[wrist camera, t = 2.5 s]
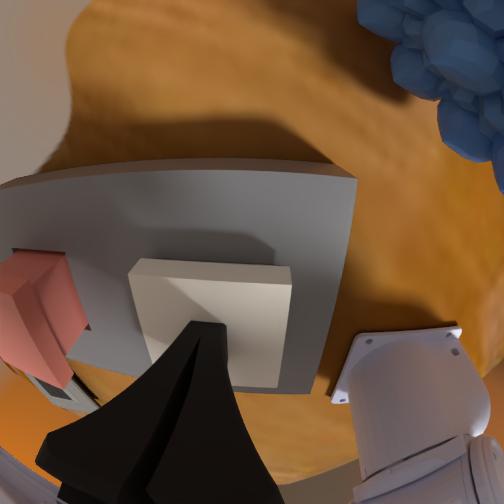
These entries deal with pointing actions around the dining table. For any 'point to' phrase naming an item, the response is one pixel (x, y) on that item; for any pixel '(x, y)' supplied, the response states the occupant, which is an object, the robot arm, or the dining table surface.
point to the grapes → (450, 67)
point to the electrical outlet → (67, 395)
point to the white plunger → (217, 310)
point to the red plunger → (39, 314)
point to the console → (188, 241)
